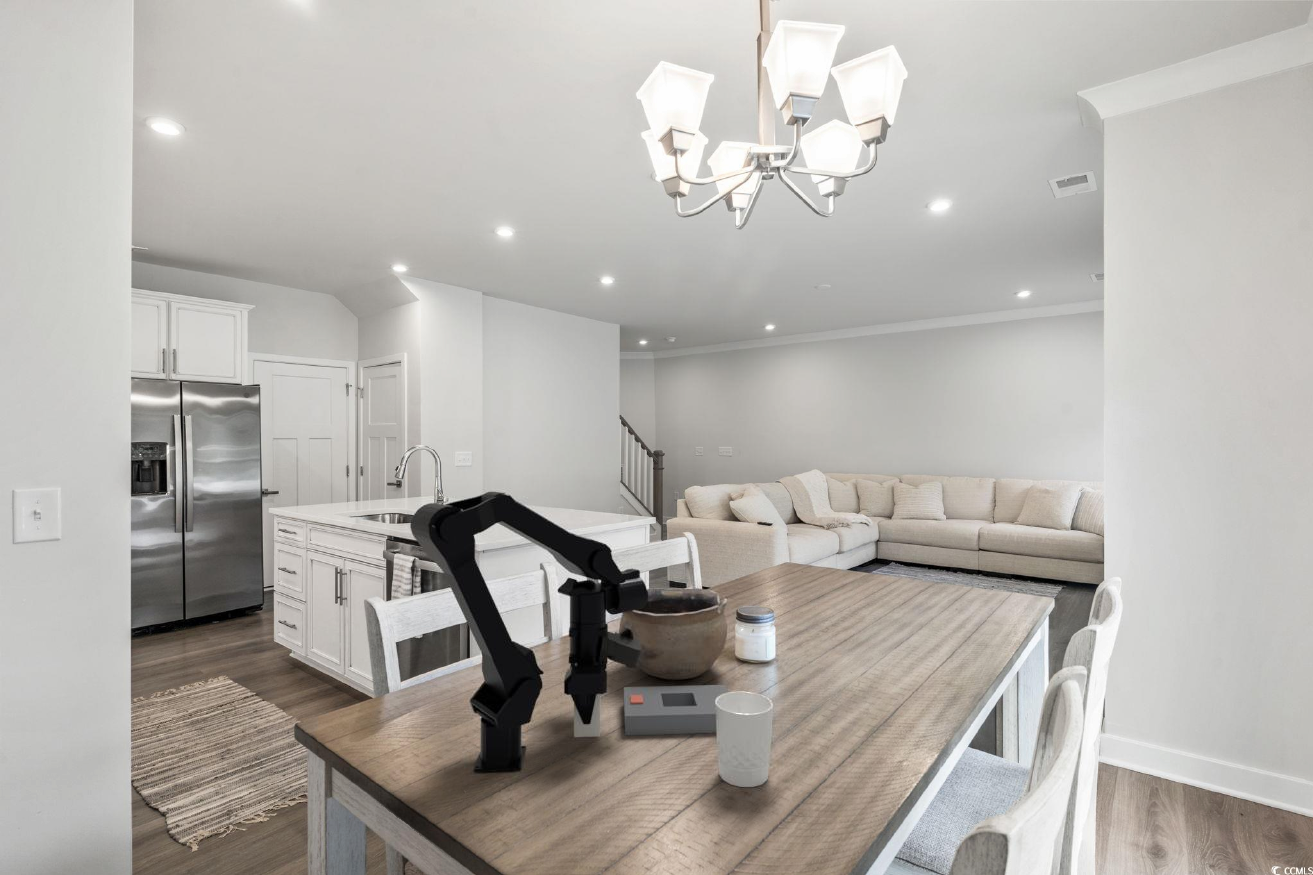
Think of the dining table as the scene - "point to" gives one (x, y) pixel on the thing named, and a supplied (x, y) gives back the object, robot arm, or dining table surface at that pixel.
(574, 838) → the dining table surface
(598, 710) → the plug
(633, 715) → the socket
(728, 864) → the dining table surface
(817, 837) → the dining table surface
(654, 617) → the ceramic bowl
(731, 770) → the white cup
